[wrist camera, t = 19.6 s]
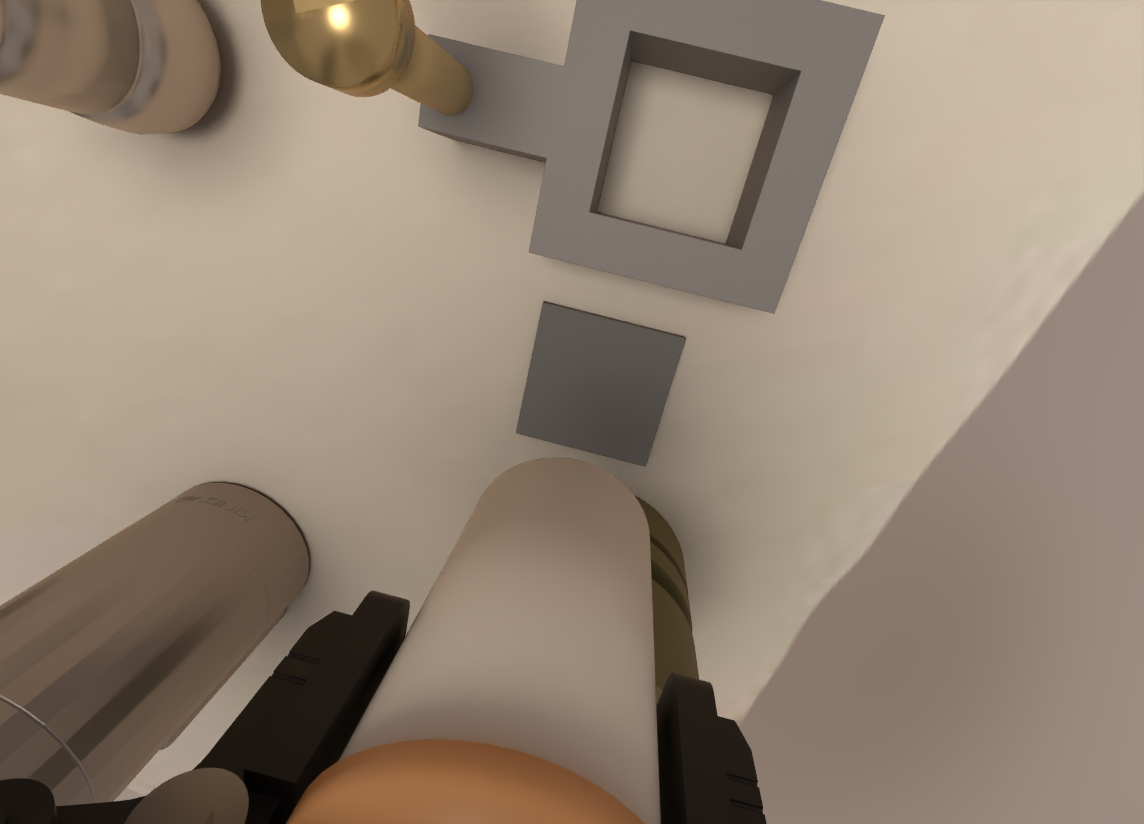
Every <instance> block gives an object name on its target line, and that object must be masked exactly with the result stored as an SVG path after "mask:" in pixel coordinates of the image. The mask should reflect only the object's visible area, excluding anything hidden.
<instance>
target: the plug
mask: <svg viewBox="0 0 1144 824" xmlns="http://www.w3.org/2000/svg"><path fill="white" fill-rule="evenodd" d="M286 824H661V815H660V789H659V763H658V737H657V710H656V684H655V658H654V632H653V605H652V579H651V553H650V532H649V527H648V522H647V519H646V516H645V513H644V511H643V509H642V507H641V505H640V503H639V502H638V500H637V499H636V497H635V496H634V495H633V493H632V492H631V491H630V490H629V489H628V488H627V487H626V486H625V485H624V484H623V483H622V482H621V481H619V480H618V479H617V478H616V477H614V476H613V475H611V474H610V473H608V472H606V471H605V470H603V469H601V468H599V467H596V466H594V465H592V464H589V463H586V462H583V461H579V460H574V459H569V458H542V459H536V460H531V461H528V462H524V463H521V464H519V465H517V466H514V467H512V468H510V469H509V470H507V471H506V472H504V473H502V474H501V475H500V476H499V477H497V478H496V479H495V480H494V481H493V482H492V483H491V484H490V485H489V487H488V488H487V489H486V491H485V492H484V494H483V495H482V497H481V499H480V500H479V502H478V504H477V506H476V508H475V510H474V512H473V513H472V515H471V517H470V519H469V521H468V523H467V524H466V526H465V528H464V530H463V532H462V534H461V535H460V537H459V539H458V541H457V543H456V545H455V547H454V548H453V550H452V552H451V554H450V556H449V558H448V559H447V561H446V563H445V565H444V567H443V569H442V571H441V572H440V574H439V576H438V578H437V580H436V582H435V583H434V585H433V587H432V589H431V591H430V593H429V594H428V596H427V598H426V600H425V602H424V604H423V606H422V607H421V609H420V611H419V613H418V615H417V617H416V618H415V620H414V622H413V624H412V626H411V628H410V630H409V631H408V633H407V635H406V637H405V639H404V641H403V642H402V644H401V646H400V648H399V650H398V652H397V654H396V655H395V657H394V659H393V661H392V663H391V665H390V666H389V668H388V670H387V672H386V674H385V676H384V677H383V679H382V681H381V683H380V685H379V687H378V689H377V690H376V692H375V694H374V696H373V698H372V700H371V701H370V703H369V705H368V707H367V709H366V711H365V713H364V714H363V716H362V718H361V720H360V722H359V724H358V725H357V727H356V729H355V731H354V733H353V735H352V737H351V738H350V740H349V742H348V744H347V746H346V748H345V749H344V751H343V753H342V755H341V757H340V759H339V760H338V762H336V763H335V764H333V765H332V766H331V767H329V768H328V769H326V770H325V771H323V772H322V773H321V774H320V775H319V776H318V777H317V778H316V779H315V780H314V781H313V782H312V783H311V784H310V785H309V786H308V788H307V789H306V791H305V792H304V794H303V795H302V797H301V798H300V800H299V801H298V803H297V805H296V807H295V808H294V810H293V812H292V814H291V815H290V817H289V819H288V821H287V822H286Z"/></svg>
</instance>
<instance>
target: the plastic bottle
mask: <svg viewBox="0 0 1144 824" xmlns="http://www.w3.org/2000/svg"><path fill="white" fill-rule="evenodd" d="M220 77H221V60H220V54H219V49H218V44H217V41H216V38H215V35H214V32H213V30H212V27H211V25H210V23H209V21H208V19H207V17H206V15H205V13H204V11H203V9H202V7H201V5H200V3H199V2H198V1H197V0H0V94H3V95H7V96H10V97H14V98H18V99H22V100H26V101H30V102H34V103H38V104H42V105H46V106H50V107H54V108H58V109H62V110H66V111H69V112H71V113H74V114H76V115H79V116H81V117H84V118H86V119H89V120H91V121H94V122H96V123H99V124H102V125H106V126H109V127H112V128H116V129H119V130H123V131H126V132H131V133H136V134H156V133H169V132H178V131H181V130H184V129H187V128H189V127H191V126H192V125H194V124H195V123H197V122H198V121H199V120H200V119H201V118H202V117H203V116H204V114H205V113H206V112H207V111H208V110H209V108H210V107H211V105H212V103H213V101H214V100H215V98H216V95H217V92H218V89H219V85H220Z"/></svg>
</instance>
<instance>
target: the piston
mask: <svg viewBox="0 0 1144 824" xmlns="http://www.w3.org/2000/svg"><path fill="white" fill-rule="evenodd" d="M634 496H635V495H634ZM635 497H636V496H635ZM636 499H637V500H638V502H639V503H640V505H641V507H642V509H643V511H644V513H645V516H646V519H647V522H648V527H649V532H650V553H651V579H652V605H653V632H654V658H655V684H656V706H657V703H658V701H659V698H660V696H661V693H662V691H663V688H664V686H665V683H666V681H667V679H668V676H669V675H670V674H671V673H672V672H673V673H676V674H680V675H684V676H687V677H691V678H695V679H699V675H698V668H697V660H696V652H695V645H694V639H693V635H692V621H691V614H690V606H689V600H688V591H687V583H686V575H685V568H684V560H683V555H682V551H681V547H680V544H679V542H678V540H677V537H676V536H675V534H674V532H673V530H672V529H671V527H670V526H669V524H668V523H667V522H666V520H665V519H664V518H663V517H662V516H661V515H660V514H659V513H658V512H657V511H656V510H655V509H654V508H653V507H651V506H650V505H649V504H647V503H646V502H645V501H643V500H641V499H640V498H638V497H636Z"/></svg>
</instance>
